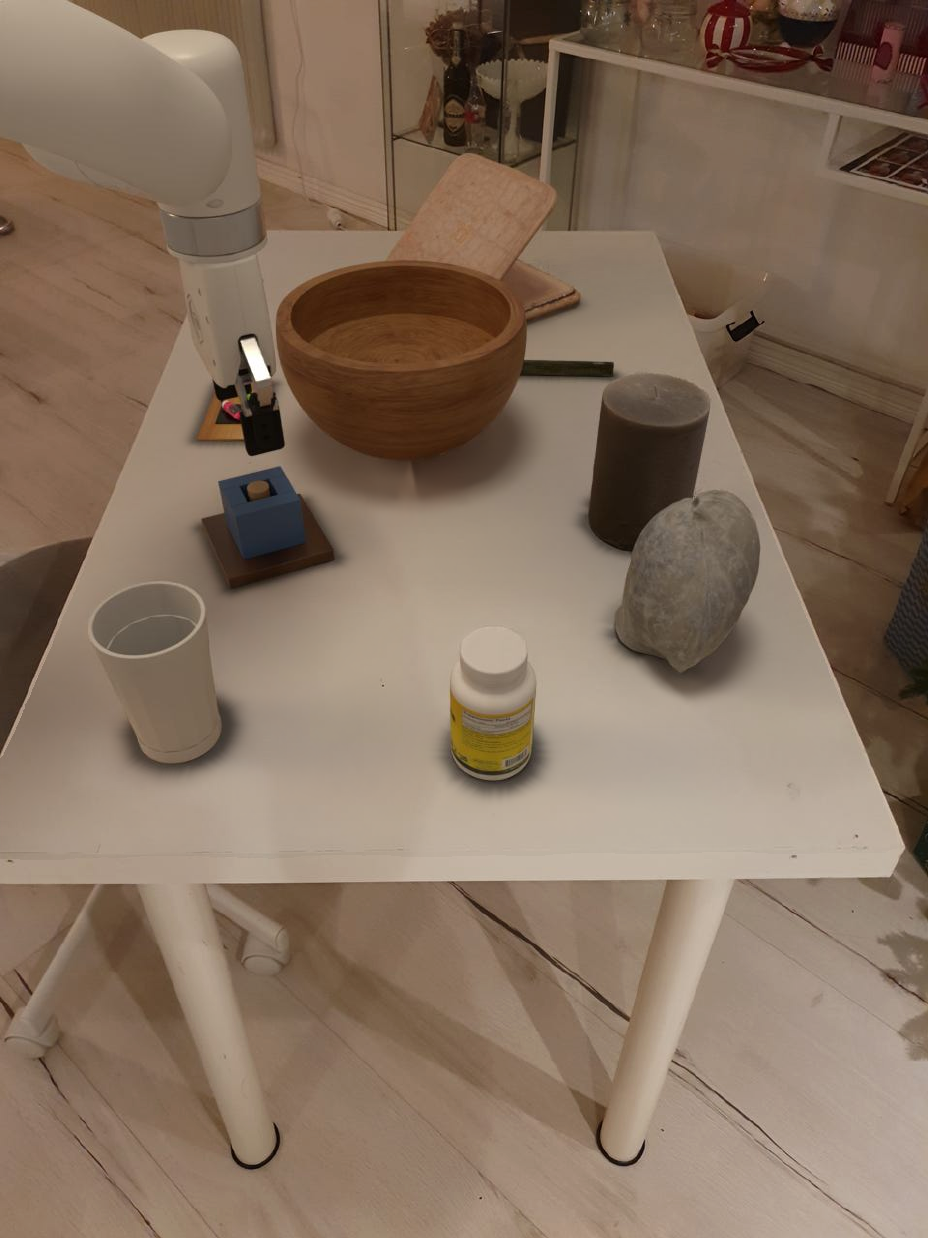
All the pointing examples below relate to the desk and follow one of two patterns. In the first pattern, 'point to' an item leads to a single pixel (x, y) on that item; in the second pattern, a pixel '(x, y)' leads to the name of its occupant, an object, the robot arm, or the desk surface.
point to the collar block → (263, 513)
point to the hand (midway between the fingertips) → (249, 422)
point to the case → (488, 229)
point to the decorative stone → (689, 578)
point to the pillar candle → (645, 452)
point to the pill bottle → (492, 704)
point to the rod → (567, 368)
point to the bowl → (402, 354)
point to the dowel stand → (269, 563)
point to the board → (223, 420)
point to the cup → (160, 667)
